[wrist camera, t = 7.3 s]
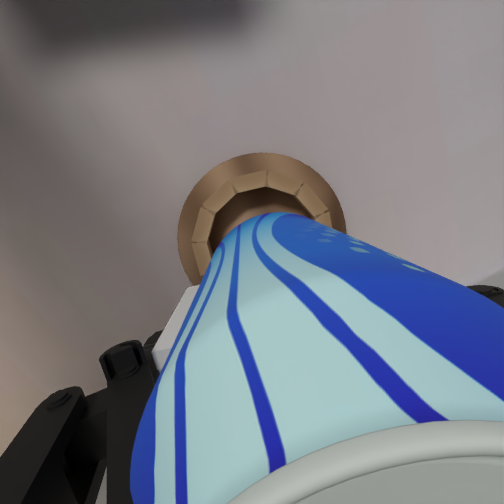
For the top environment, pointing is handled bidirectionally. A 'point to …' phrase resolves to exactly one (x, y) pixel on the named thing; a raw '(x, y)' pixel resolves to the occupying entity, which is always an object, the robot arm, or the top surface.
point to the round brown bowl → (249, 203)
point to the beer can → (325, 380)
